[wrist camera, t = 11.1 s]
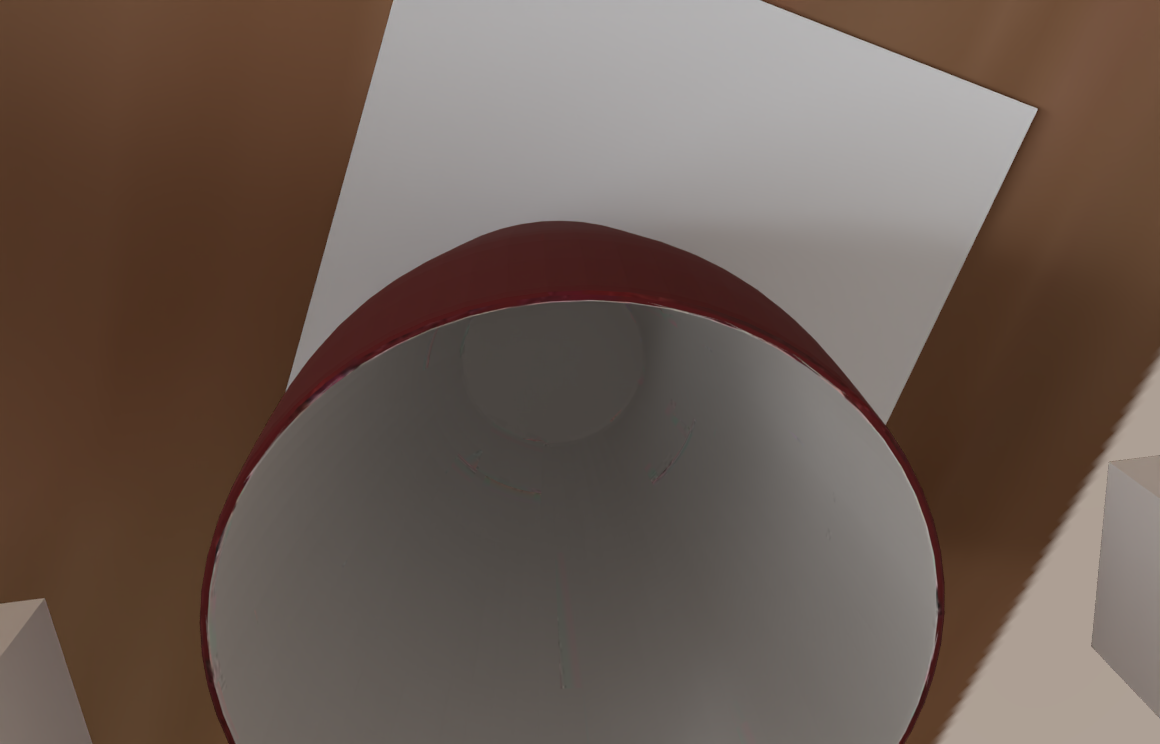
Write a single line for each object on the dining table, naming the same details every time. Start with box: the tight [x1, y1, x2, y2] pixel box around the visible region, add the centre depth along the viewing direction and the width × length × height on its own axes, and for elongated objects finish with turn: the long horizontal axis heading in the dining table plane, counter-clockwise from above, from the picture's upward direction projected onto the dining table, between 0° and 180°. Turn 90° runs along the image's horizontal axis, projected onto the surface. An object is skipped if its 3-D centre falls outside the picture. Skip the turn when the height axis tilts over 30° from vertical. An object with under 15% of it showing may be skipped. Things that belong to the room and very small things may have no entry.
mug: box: [200, 221, 944, 744], centre depth 16 cm, size 10×8×10 cm
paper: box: [286, 0, 1038, 425], centre depth 21 cm, size 16×12×1 cm
